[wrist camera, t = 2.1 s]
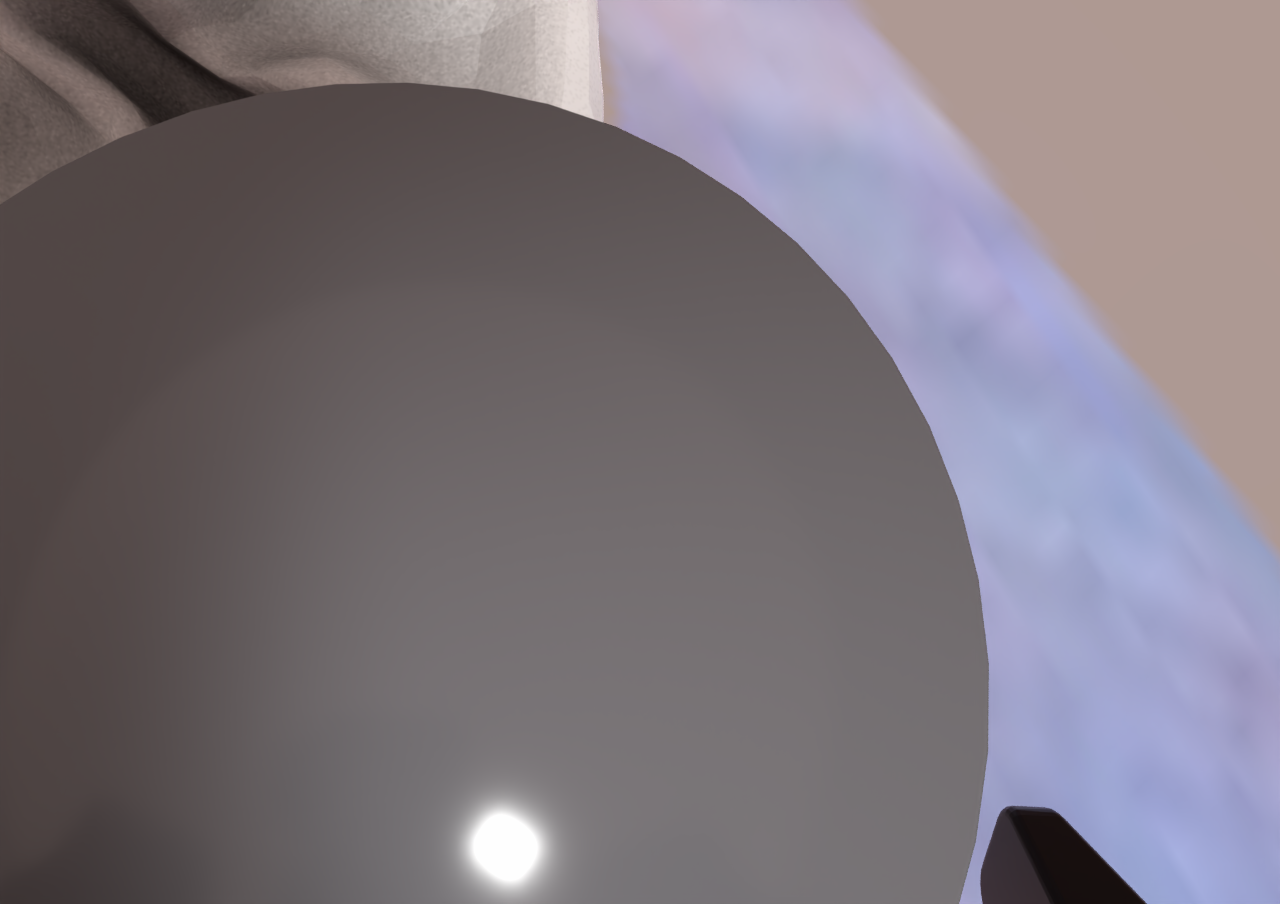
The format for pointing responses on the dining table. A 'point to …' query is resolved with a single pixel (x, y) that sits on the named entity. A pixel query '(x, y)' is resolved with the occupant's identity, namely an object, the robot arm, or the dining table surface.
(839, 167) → the dining table surface
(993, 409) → the dining table surface
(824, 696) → the shaker
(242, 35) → the cloth
